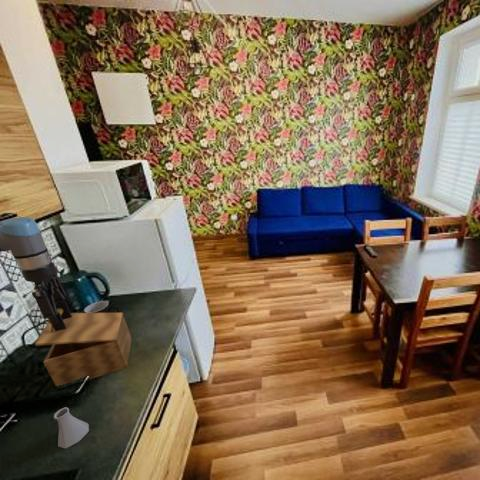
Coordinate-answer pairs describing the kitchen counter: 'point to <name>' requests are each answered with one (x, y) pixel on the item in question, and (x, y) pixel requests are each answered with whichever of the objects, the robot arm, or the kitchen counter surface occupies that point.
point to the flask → (69, 428)
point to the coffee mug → (99, 307)
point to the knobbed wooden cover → (83, 329)
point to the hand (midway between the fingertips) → (63, 323)
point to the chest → (88, 358)
